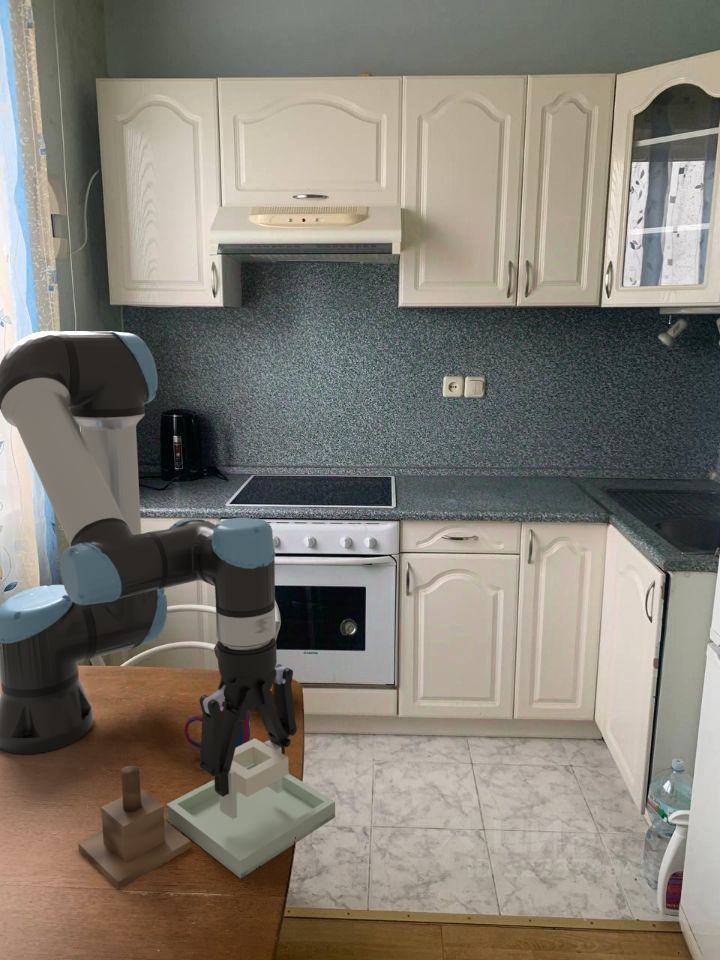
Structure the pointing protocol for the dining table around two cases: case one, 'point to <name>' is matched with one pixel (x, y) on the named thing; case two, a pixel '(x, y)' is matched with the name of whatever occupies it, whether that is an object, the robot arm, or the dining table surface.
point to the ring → (266, 771)
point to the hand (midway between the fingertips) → (251, 800)
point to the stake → (132, 835)
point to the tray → (251, 822)
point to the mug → (245, 727)
